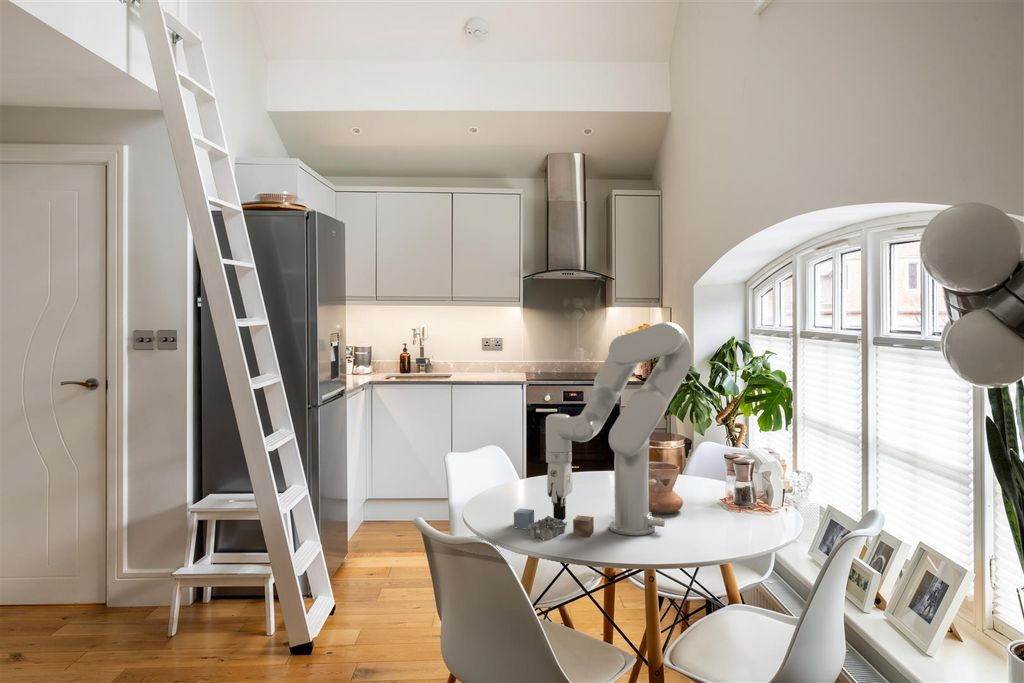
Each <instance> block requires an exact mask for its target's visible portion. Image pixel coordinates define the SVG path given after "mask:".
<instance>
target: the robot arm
mask: <svg viewBox="0 0 1024 683" xmlns="http://www.w3.org/2000/svg"><path fill="white" fill-rule="evenodd" d="M656 358H659V359H658V361H657V363H656V364H655V365H654V368H653V369H652V371H651V373H650V374H649V376H648V377H647V378H646V380H645V382H644V384H643V385H642V386H640V388H638V389H637V390H635V392H634V393H633V394H632V395H631V396H630V398H629V400H628V401H626V402H627V403H626V404H625V405H624V407H623V409H622V411H621V412H620V414H619V415H618V417H617V419H616V420H615V422H614V424H613V425H612V426H611V428H610V429H609V434H608V443H609V446H610V449H611V450H612V451H613V452H614V461H613V462H614V466H613V467H614V474H613V475H614V476H613V477H614V479H613V480H614V482H613V483H614V485H613V486H614V492H613V493H614V520H612V521H610V522H609V526H608V528H609V529H610V531H611V532H614V533H616V534H620V535H625V536H643V535H645V536H646V535H649V534H651V533H653V532H655V530H656V529H655V528H656V527H662V528H665V525H666V521H665V520H666V519H663V518H662V517H654V516H652V515H653V513H652V512H649V462H650V461H649V460H650V436H651V435H652V433H653V432H654V430H655V428H657V426H658V424H659V423H660V421H661V419H662V417H663V416H664V415H665V413H666V411H667V410H668V407H669V405H670V403H671V402H672V400H673V398H674V396H675V395H676V393H677V392H678V390H679V388H680V387H681V384H682V383H683V382H684V380H685V378H686V377H687V375H688V373H689V370H690V368H691V365H692V360H693V348H692V344H691V341H690V339H689V337H688V334H687V333H686V331H685V330H684V329H683V328H682V327H681V325H678V324H677V323H674V322H669V321H665V322H659V323H657V324H653V325H650V326H647V327H644V328H641V329H638V330H635V331H632V332H629V333H624V334H621V335H618V336H616V337H615V338H614V339H613V340H612V341H611V342H610V344H609V348H608V355H607V357H606V359H605V360H604V362H603V364H602V366H601V367H600V369H599V371H598V372H597V375H595V378H594V381H593V389H592V393H591V395H590V397H589V399H588V401H587V403H586V405H585V406H584V408H583V409H582V411H581V413H580V414H578V415H575V416H570V415H569V414H566V413H553V414H552V413H551V414H548V415H547V416H546V417H545V462H546V463H548V464H547V477H546V478H547V481H546V482H547V483H546V484H547V485H546V488H547V489H546V490H547V496H548V497H549V498H551V500H550V501H551V504H552V506H553V511H552V512H553V518H556V519H559V520H562V521H564V520H566V518H567V517H566V510H567V509H566V504H567V502H566V500H567V496H569V495H570V494H571V493H572V492H573V490H574V489H573V470H572V469H573V468H572V462H573V457H572V456H573V453H572V451H573V450H572V449H573V448H572V446H573V445H572V441H573V442H579V443H585V442H589V441H590V440H592V439H593V438H594V437H595V436H597V435H598V434H599V433H600V432H601V430H602V428H603V426H604V425H605V423H606V422H607V420H608V418H609V416H610V414H611V413H612V410H614V407H615V405H616V403H617V401H619V399H620V397H621V395H622V393H623V391H624V390H625V387H626V386H627V384H628V382H629V381H630V378H631V377H632V375H633V374H634V372H635V370H636V368H637V367H638V365H639V363H640V364H641V363H643V362H647V361H649V360H653V359H656Z"/></svg>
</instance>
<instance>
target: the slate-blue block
mask: <svg viewBox="0 0 1024 683" xmlns="http://www.w3.org/2000/svg"><path fill="white" fill-rule="evenodd" d="M530 523H535V509H529V508H522V507H521V508H518V509H517V510H515V511H514V512H513V528H514V527H517V528H516V529H521V528H526V529H525V530H529V529H528V525H529V524H530Z"/></svg>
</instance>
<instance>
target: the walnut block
mask: <svg viewBox="0 0 1024 683" xmlns="http://www.w3.org/2000/svg"><path fill="white" fill-rule="evenodd" d="M594 527H595V525H594V516H590V515H589V516H588V515H579V514H578V515H577V516H575V518H573V519H572V531H573V532H572V533H573V534H572V535H573V536H574V537H581V538H591V536H592V535H593V534H594V533H595V529H594Z"/></svg>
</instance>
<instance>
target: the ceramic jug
mask: <svg viewBox="0 0 1024 683" xmlns="http://www.w3.org/2000/svg"><path fill="white" fill-rule="evenodd" d="M679 474H680V466H678V465H676V464H674V463H671V462H666V461H665V462H664V461H649V512H652V514H656V515H667V514H668V515H669V514H672V513H675V512H678V511H679V510H681V509H682V507H683V505H684V501H683V498H682V497H681V496H680V495H679V494H678V493H676V492H675V491H674V490H673V488H674V487H675V485H676V482H677V479H678V476H679Z"/></svg>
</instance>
